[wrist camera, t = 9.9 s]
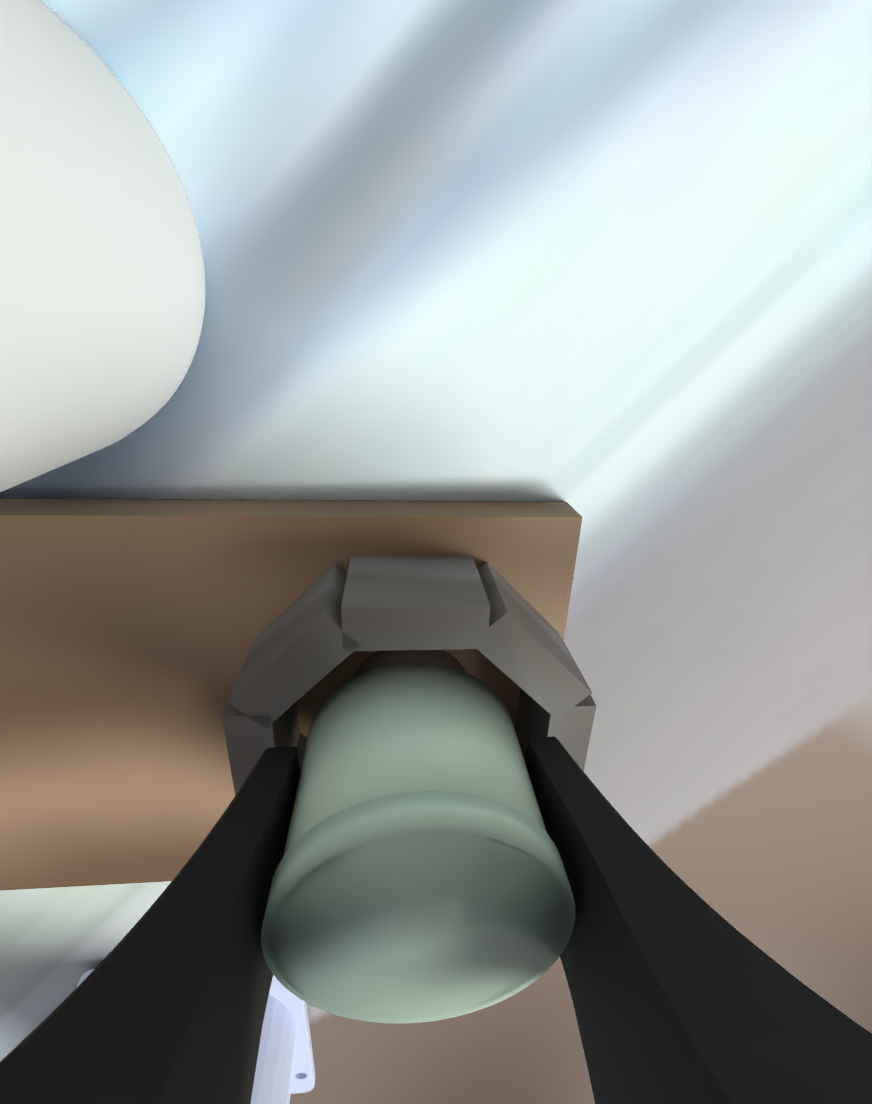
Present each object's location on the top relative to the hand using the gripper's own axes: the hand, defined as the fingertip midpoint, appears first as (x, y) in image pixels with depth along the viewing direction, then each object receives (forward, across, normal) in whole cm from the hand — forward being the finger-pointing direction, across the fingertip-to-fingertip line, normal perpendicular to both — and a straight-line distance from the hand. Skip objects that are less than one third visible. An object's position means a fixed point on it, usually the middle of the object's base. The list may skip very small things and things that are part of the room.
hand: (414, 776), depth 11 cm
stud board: (+4, +5, +1) cm, 6 cm away
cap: (+1, 0, 0) cm, 1 cm away
